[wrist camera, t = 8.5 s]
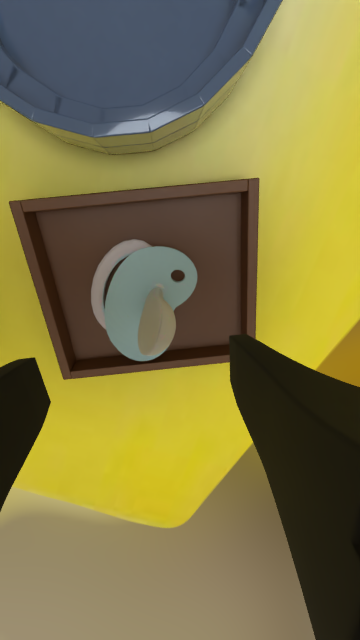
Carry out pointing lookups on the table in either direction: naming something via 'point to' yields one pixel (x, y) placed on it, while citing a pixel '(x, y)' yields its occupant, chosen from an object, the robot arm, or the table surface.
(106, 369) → the tray
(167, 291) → the pacifier
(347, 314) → the table surface
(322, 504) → the robot arm
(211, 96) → the bowl
